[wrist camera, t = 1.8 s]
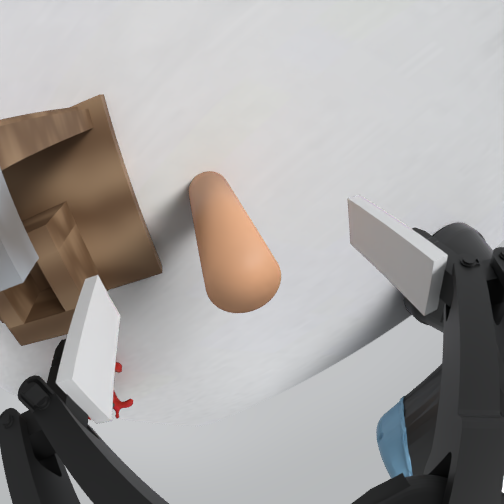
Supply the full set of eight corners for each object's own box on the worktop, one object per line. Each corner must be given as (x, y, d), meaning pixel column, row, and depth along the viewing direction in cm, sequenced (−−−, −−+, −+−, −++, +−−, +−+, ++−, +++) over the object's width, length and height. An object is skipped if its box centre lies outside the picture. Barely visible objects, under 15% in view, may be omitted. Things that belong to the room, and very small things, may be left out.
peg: (232, 203, 27) (285, 299, 15) (194, 215, 27) (217, 321, 15) (223, 166, 25) (274, 238, 13) (183, 178, 25) (195, 262, 13)
